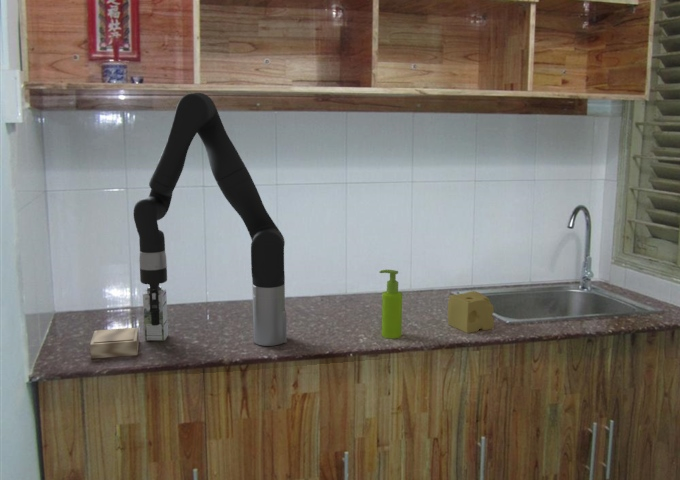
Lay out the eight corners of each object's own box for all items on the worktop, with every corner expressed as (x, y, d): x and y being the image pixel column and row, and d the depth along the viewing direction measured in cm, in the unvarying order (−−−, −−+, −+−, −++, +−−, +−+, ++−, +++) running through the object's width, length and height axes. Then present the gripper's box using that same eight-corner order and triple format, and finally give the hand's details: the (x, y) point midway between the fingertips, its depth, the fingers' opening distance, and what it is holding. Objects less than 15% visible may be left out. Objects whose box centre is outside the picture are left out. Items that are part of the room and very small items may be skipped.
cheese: (494, 329, 209) (495, 298, 207) (466, 334, 204) (467, 302, 202) (473, 320, 218) (474, 290, 216) (445, 324, 213) (446, 294, 211)
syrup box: (168, 335, 201) (166, 288, 199) (164, 341, 196) (162, 293, 193) (149, 335, 201) (147, 288, 198) (144, 341, 195) (142, 293, 193)
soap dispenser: (382, 330, 206) (383, 267, 203) (403, 333, 204) (405, 269, 200) (375, 336, 201) (376, 271, 197) (397, 339, 198) (399, 273, 195)
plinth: (138, 340, 196) (138, 326, 195) (137, 355, 185) (136, 340, 184) (95, 343, 193) (94, 329, 193) (91, 358, 182) (89, 343, 181)
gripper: (166, 271, 188) (169, 328, 192) (166, 260, 202) (168, 313, 205) (138, 272, 187) (141, 329, 190) (140, 261, 200) (143, 315, 203)
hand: (155, 321), depth 197 cm, fingers closed on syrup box, 6 cm apart
